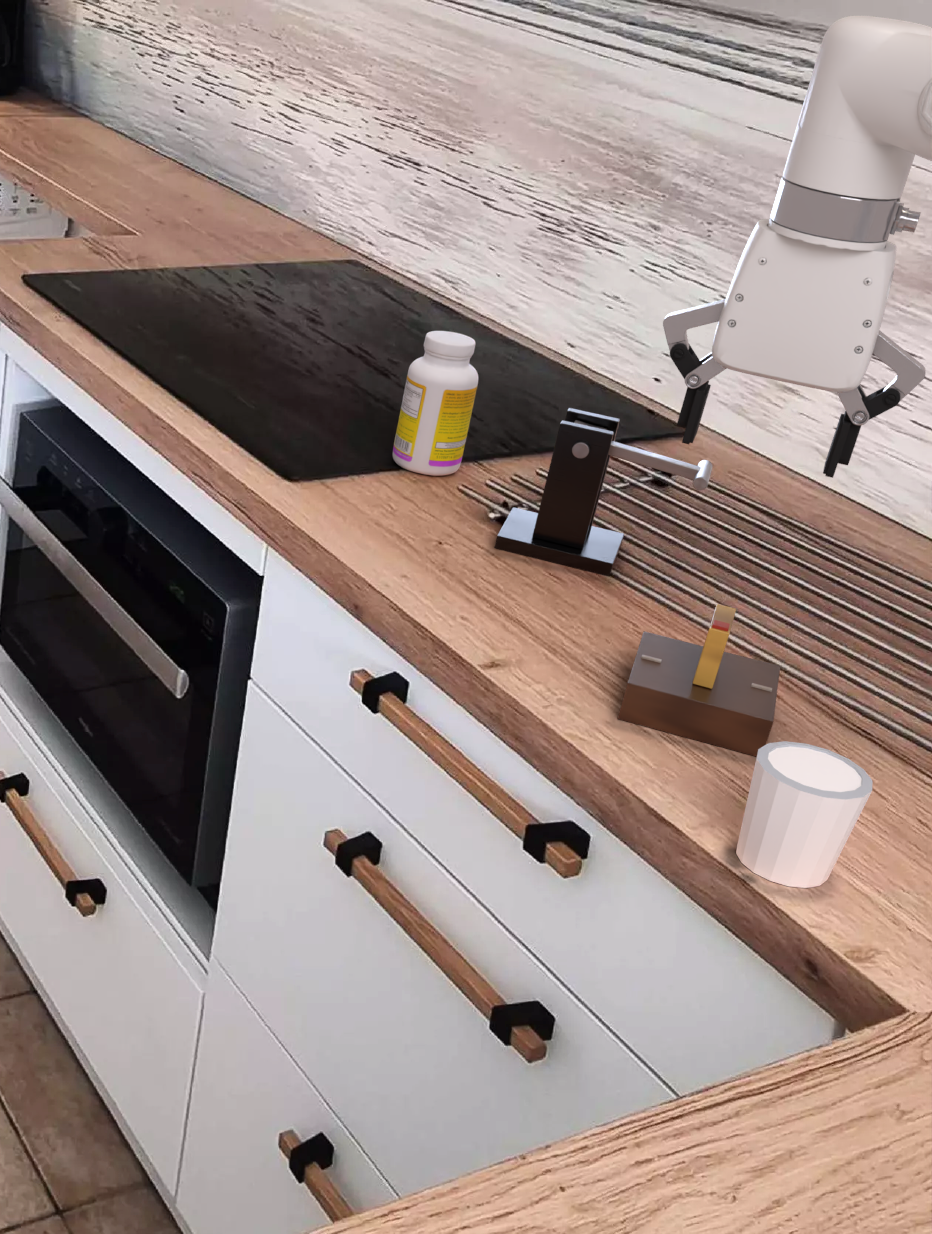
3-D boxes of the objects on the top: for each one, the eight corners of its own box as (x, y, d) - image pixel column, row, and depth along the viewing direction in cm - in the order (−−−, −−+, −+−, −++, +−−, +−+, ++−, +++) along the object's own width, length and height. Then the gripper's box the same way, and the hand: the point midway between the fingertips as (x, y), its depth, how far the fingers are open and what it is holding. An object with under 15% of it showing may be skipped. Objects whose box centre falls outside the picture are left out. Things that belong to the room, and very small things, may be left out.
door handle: (707, 481, 149) (717, 455, 148) (702, 499, 145) (712, 472, 144) (569, 440, 153) (577, 415, 151) (560, 457, 148) (569, 431, 147)
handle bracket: (621, 545, 156) (655, 421, 151) (609, 576, 149) (644, 447, 144) (510, 519, 159) (539, 396, 154) (494, 548, 152) (524, 420, 147)
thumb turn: (699, 657, 129) (717, 600, 127) (719, 662, 129) (737, 605, 126) (692, 683, 125) (710, 624, 123) (712, 689, 124) (730, 630, 122)
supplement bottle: (467, 464, 171) (495, 338, 165) (448, 483, 166) (476, 353, 160) (402, 448, 174) (427, 322, 168) (381, 466, 168) (407, 337, 162)
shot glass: (801, 831, 114) (834, 739, 111) (860, 893, 108) (897, 797, 105) (705, 832, 112) (736, 739, 109) (760, 894, 106) (794, 797, 103)
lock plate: (768, 700, 131) (781, 663, 129) (761, 758, 122) (774, 719, 121) (633, 665, 134) (644, 628, 132) (617, 719, 126) (628, 680, 124)
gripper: (971, 230, 116) (888, 469, 124) (705, 182, 122) (642, 413, 130) (972, 251, 110) (885, 501, 118) (692, 199, 116) (627, 440, 124)
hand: (757, 454), depth 124 cm, fingers open, 9 cm apart
